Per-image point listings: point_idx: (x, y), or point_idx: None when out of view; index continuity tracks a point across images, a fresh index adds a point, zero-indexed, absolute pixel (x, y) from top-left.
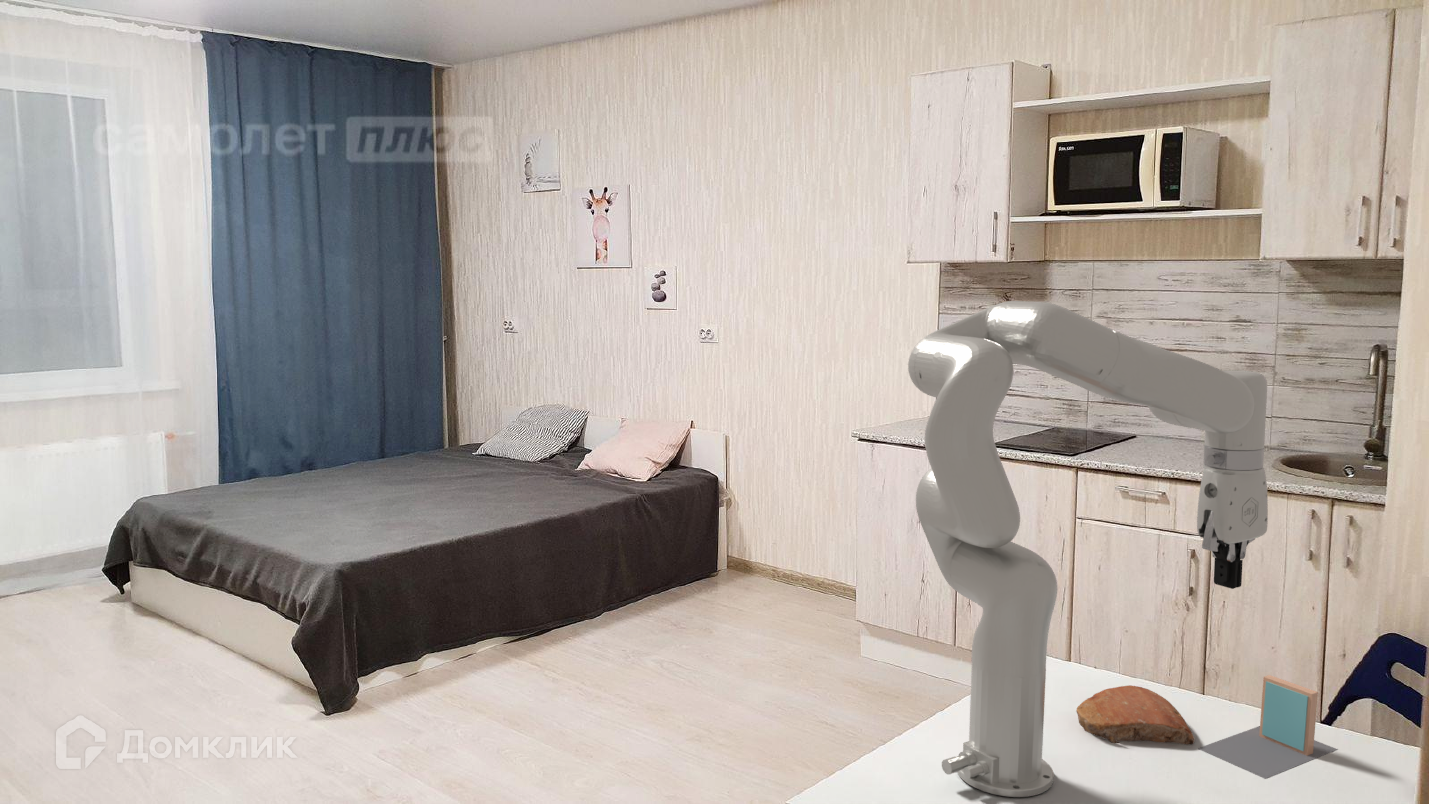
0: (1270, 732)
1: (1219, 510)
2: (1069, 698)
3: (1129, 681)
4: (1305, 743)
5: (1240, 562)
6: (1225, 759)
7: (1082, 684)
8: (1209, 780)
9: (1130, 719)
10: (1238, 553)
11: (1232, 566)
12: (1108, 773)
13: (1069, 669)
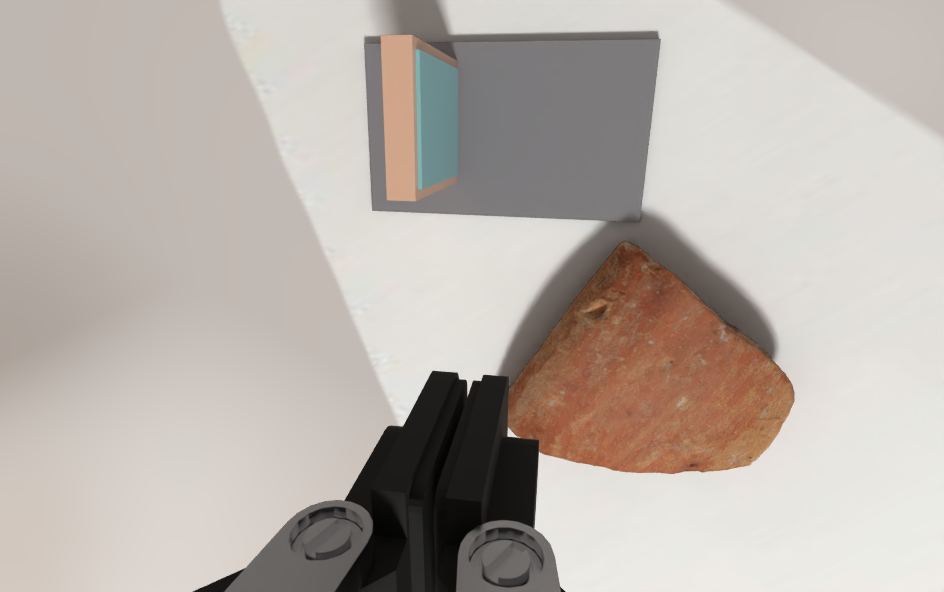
0: (455, 155)
1: None
2: (624, 512)
3: None
4: (451, 64)
5: (408, 480)
6: (641, 152)
7: None
8: (766, 116)
9: (739, 353)
10: (360, 572)
11: (490, 492)
12: (932, 266)
13: None
